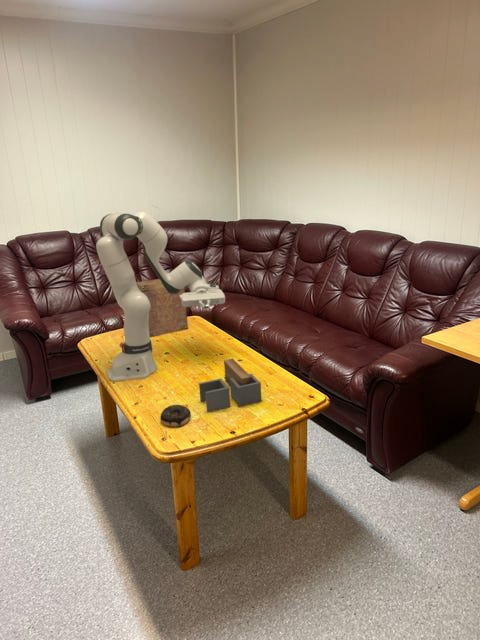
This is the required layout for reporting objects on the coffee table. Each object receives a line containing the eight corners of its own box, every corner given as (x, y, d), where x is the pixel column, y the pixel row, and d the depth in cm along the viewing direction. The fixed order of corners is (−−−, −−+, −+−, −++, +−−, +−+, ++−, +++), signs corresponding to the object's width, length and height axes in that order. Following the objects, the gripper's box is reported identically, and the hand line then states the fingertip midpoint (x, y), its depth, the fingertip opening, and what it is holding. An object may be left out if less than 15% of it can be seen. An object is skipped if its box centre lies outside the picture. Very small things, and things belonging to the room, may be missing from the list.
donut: (158, 428, 163) (157, 418, 162) (164, 411, 174) (163, 402, 173) (188, 427, 163) (188, 418, 161) (193, 411, 174) (192, 401, 173)
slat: (242, 401, 179) (241, 378, 176) (225, 381, 197) (224, 360, 194) (251, 399, 180) (250, 376, 177) (234, 379, 198) (232, 358, 195)
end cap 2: (239, 406, 175) (238, 387, 172) (230, 396, 183) (229, 378, 181) (261, 401, 178) (260, 382, 176) (252, 391, 186) (251, 373, 184)
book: (146, 338, 252) (139, 285, 242) (140, 333, 260) (134, 282, 250) (188, 329, 264) (183, 278, 254) (182, 324, 271) (177, 275, 262)
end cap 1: (230, 406, 175) (229, 388, 173) (207, 412, 172) (206, 393, 170) (222, 396, 184) (220, 378, 181) (200, 401, 181) (198, 383, 178)
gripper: (178, 288, 211) (182, 303, 200) (221, 285, 216) (228, 299, 205) (178, 300, 214) (183, 315, 203) (221, 296, 219) (227, 311, 208)
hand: (206, 307), depth 204 cm, fingers closed
